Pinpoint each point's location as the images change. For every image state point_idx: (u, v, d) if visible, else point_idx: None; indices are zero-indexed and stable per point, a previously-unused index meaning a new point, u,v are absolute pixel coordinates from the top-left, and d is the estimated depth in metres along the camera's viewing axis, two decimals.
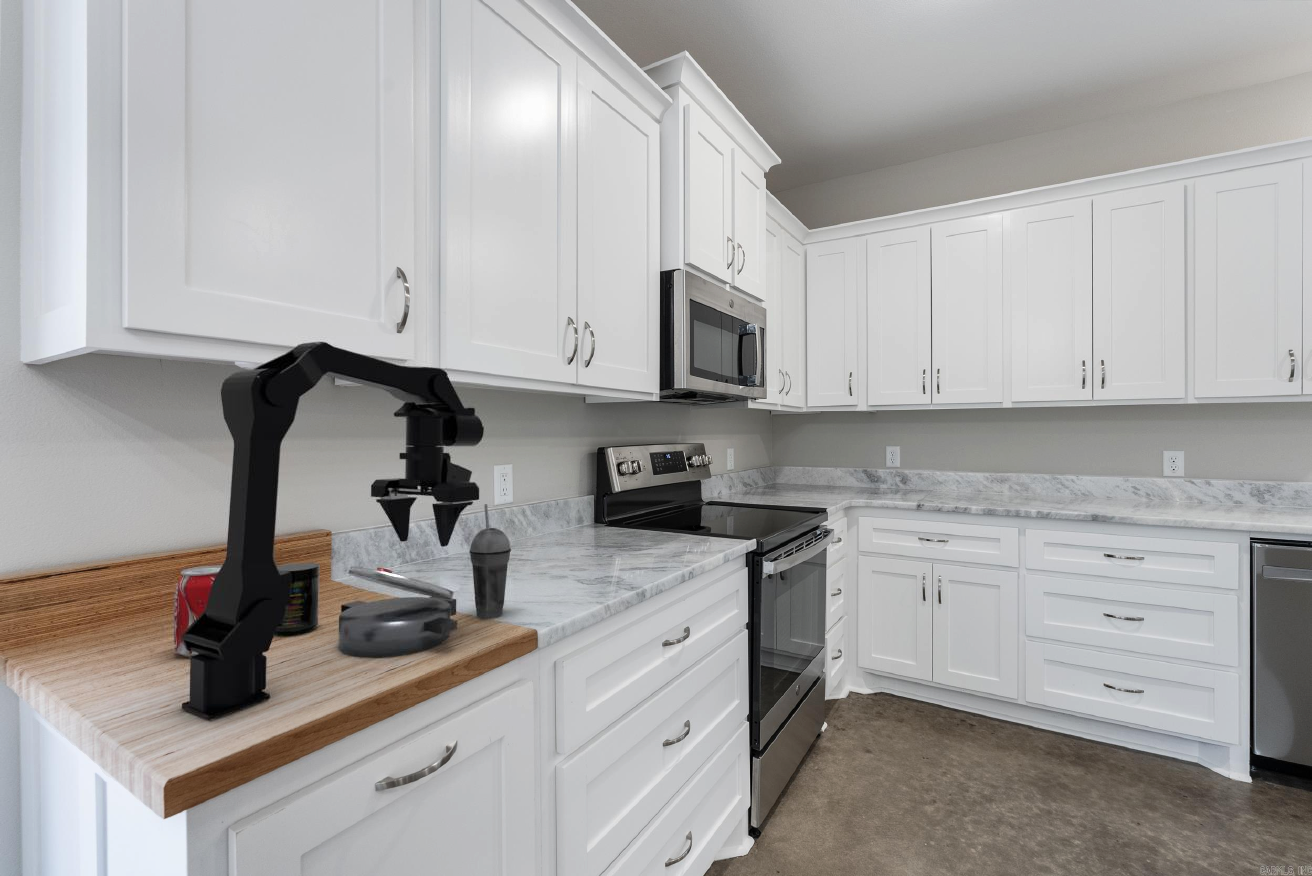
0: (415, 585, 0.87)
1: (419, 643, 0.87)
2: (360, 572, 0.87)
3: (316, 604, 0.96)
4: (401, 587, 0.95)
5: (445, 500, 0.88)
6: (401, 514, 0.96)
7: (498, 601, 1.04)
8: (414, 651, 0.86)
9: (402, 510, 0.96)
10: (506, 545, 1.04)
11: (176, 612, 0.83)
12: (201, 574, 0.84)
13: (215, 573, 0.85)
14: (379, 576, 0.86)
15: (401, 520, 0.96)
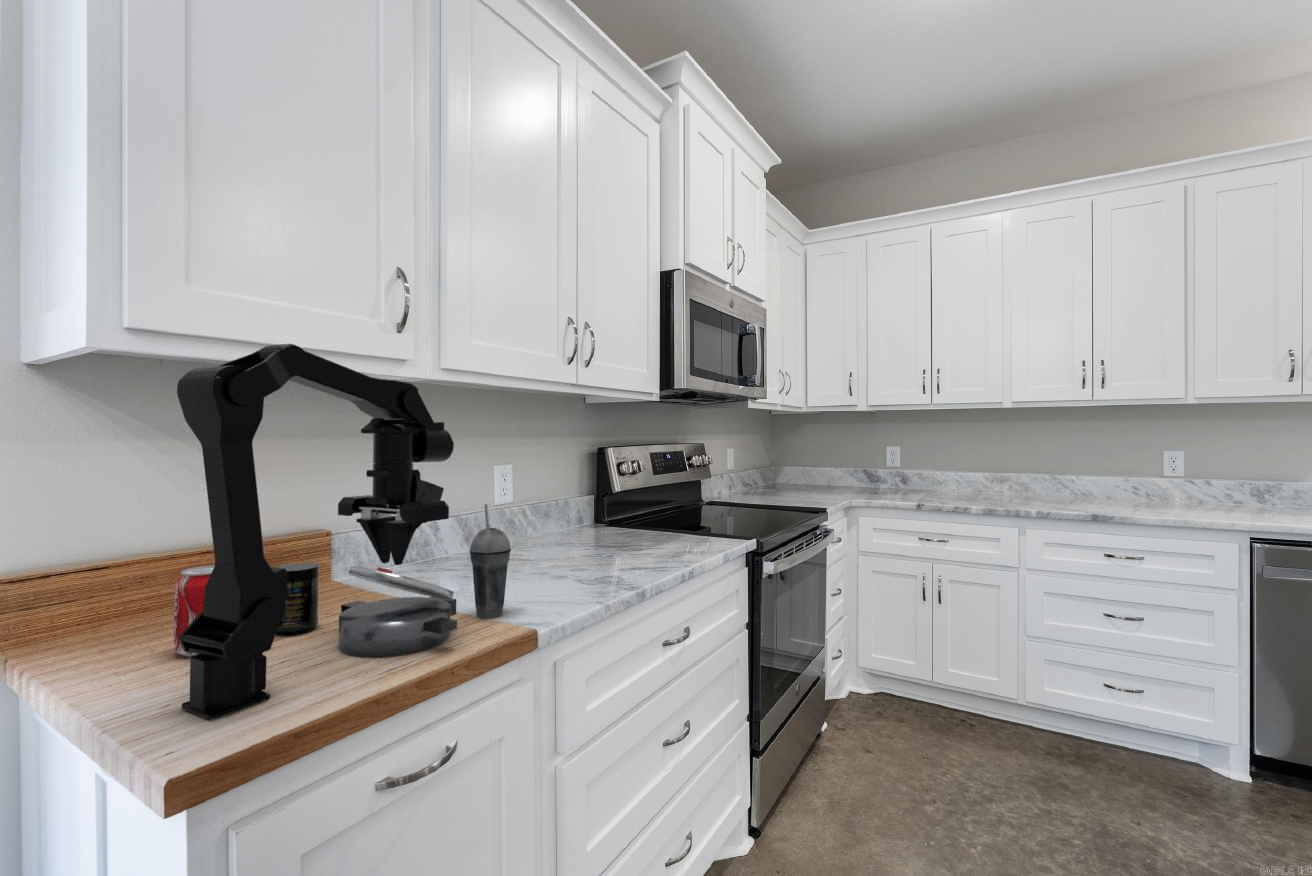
0: (415, 585, 0.87)
1: (419, 643, 0.87)
2: (360, 572, 0.87)
3: (316, 604, 0.96)
4: (401, 587, 0.95)
5: (412, 520, 0.85)
6: (383, 534, 0.92)
7: (498, 601, 1.04)
8: (414, 651, 0.86)
9: (384, 530, 0.92)
10: (506, 545, 1.04)
11: (176, 612, 0.83)
12: (201, 574, 0.84)
13: None
14: (379, 576, 0.86)
15: (382, 541, 0.92)
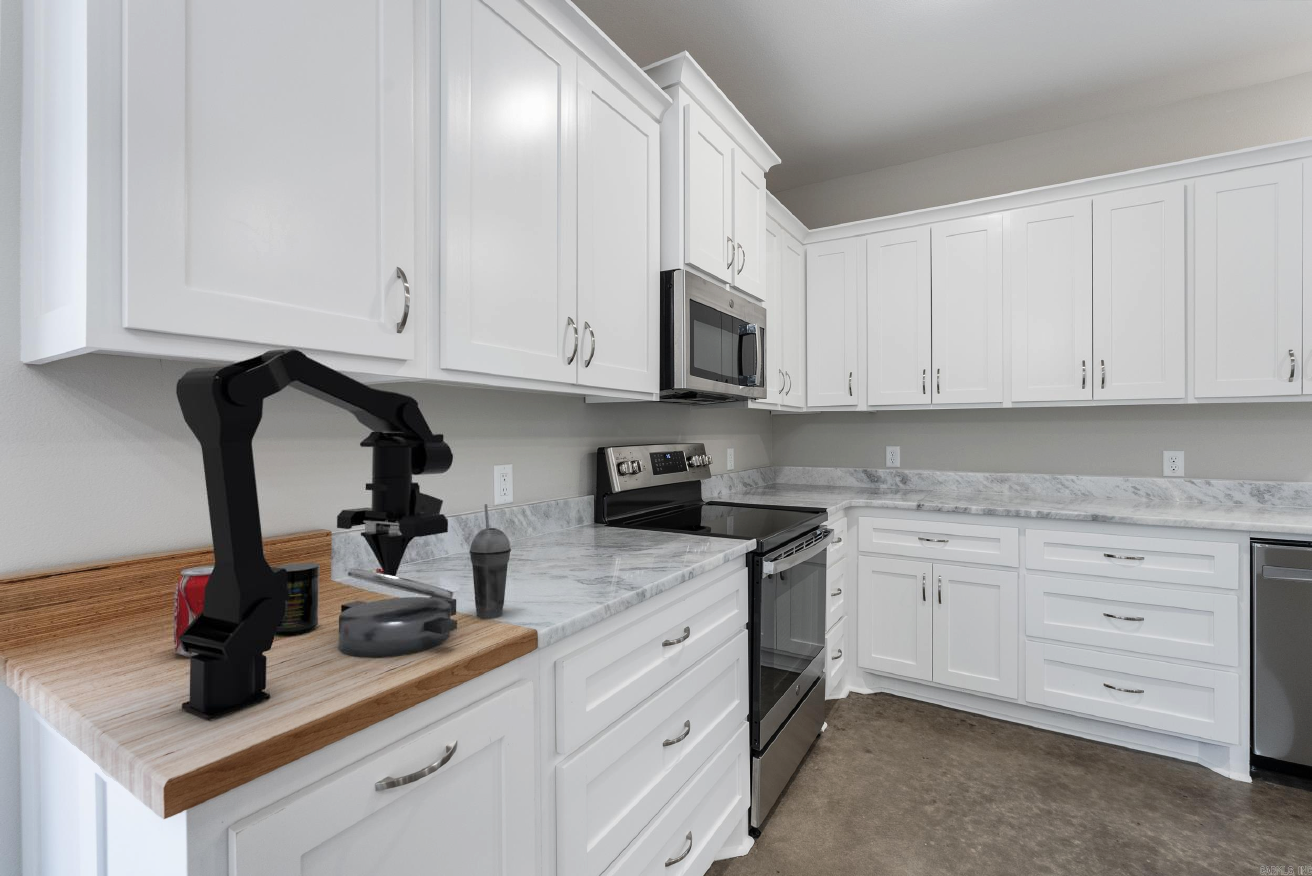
0: (414, 587, 0.87)
1: (419, 643, 0.87)
2: (359, 574, 0.86)
3: (316, 604, 0.96)
4: (401, 588, 0.95)
5: (411, 534, 0.85)
6: None
7: (498, 601, 1.04)
8: (414, 651, 0.86)
9: None
10: (506, 545, 1.04)
11: (176, 612, 0.83)
12: (201, 574, 0.84)
13: None
14: (378, 578, 0.85)
15: None
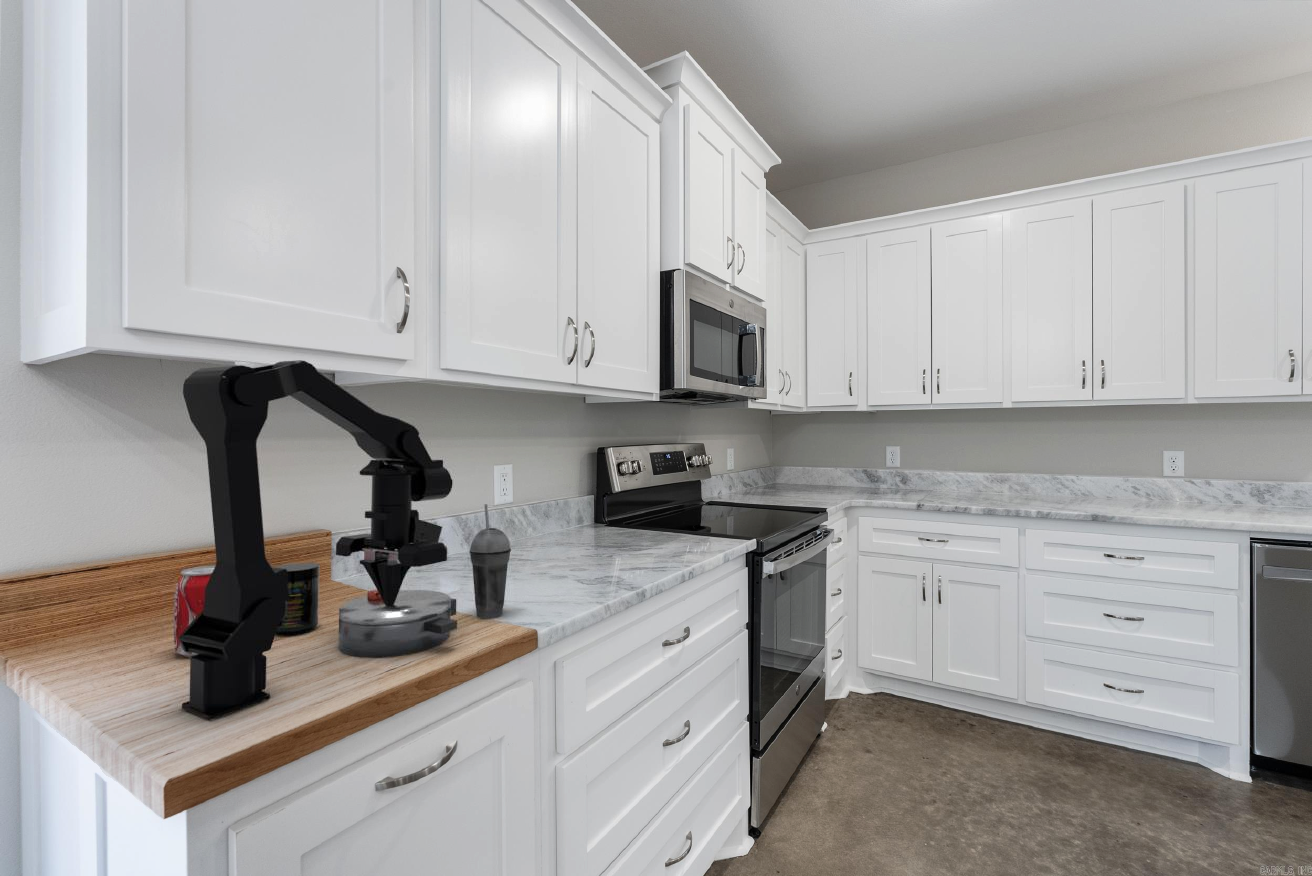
0: (408, 621, 0.86)
1: (419, 643, 0.87)
2: (349, 621, 0.85)
3: (316, 604, 0.96)
4: None
5: (410, 564, 0.85)
6: None
7: (498, 601, 1.04)
8: (414, 651, 0.86)
9: None
10: (506, 545, 1.04)
11: (176, 612, 0.83)
12: (201, 574, 0.84)
13: None
14: (369, 623, 0.84)
15: None
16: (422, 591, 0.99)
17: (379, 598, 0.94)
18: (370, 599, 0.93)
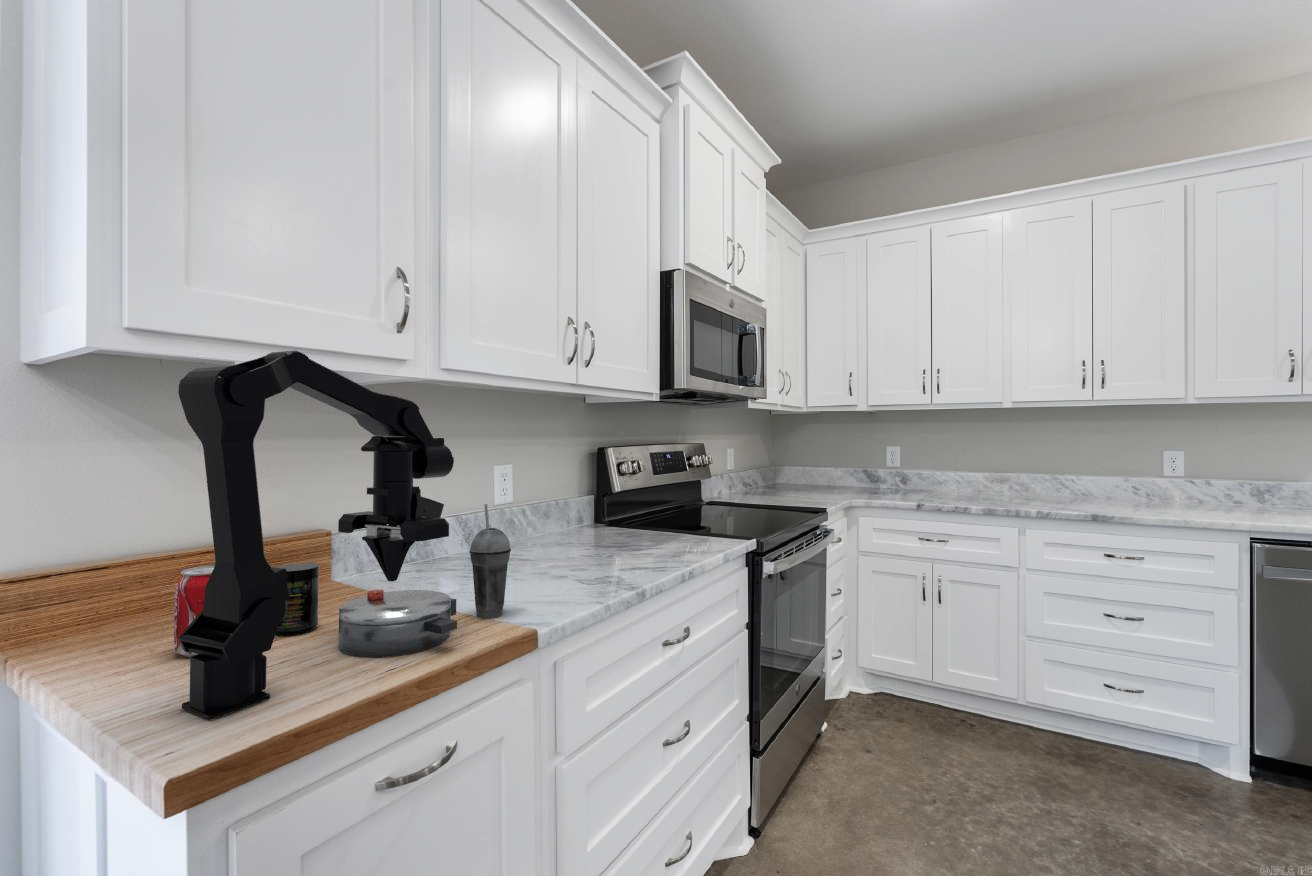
0: (408, 621, 0.86)
1: (419, 643, 0.87)
2: (349, 621, 0.85)
3: (316, 604, 0.96)
4: None
5: (412, 539, 0.85)
6: None
7: (498, 601, 1.04)
8: (414, 651, 0.86)
9: None
10: (506, 545, 1.04)
11: (176, 612, 0.83)
12: (201, 574, 0.84)
13: None
14: (369, 623, 0.84)
15: None
16: (422, 591, 0.99)
17: (379, 598, 0.94)
18: (370, 599, 0.93)
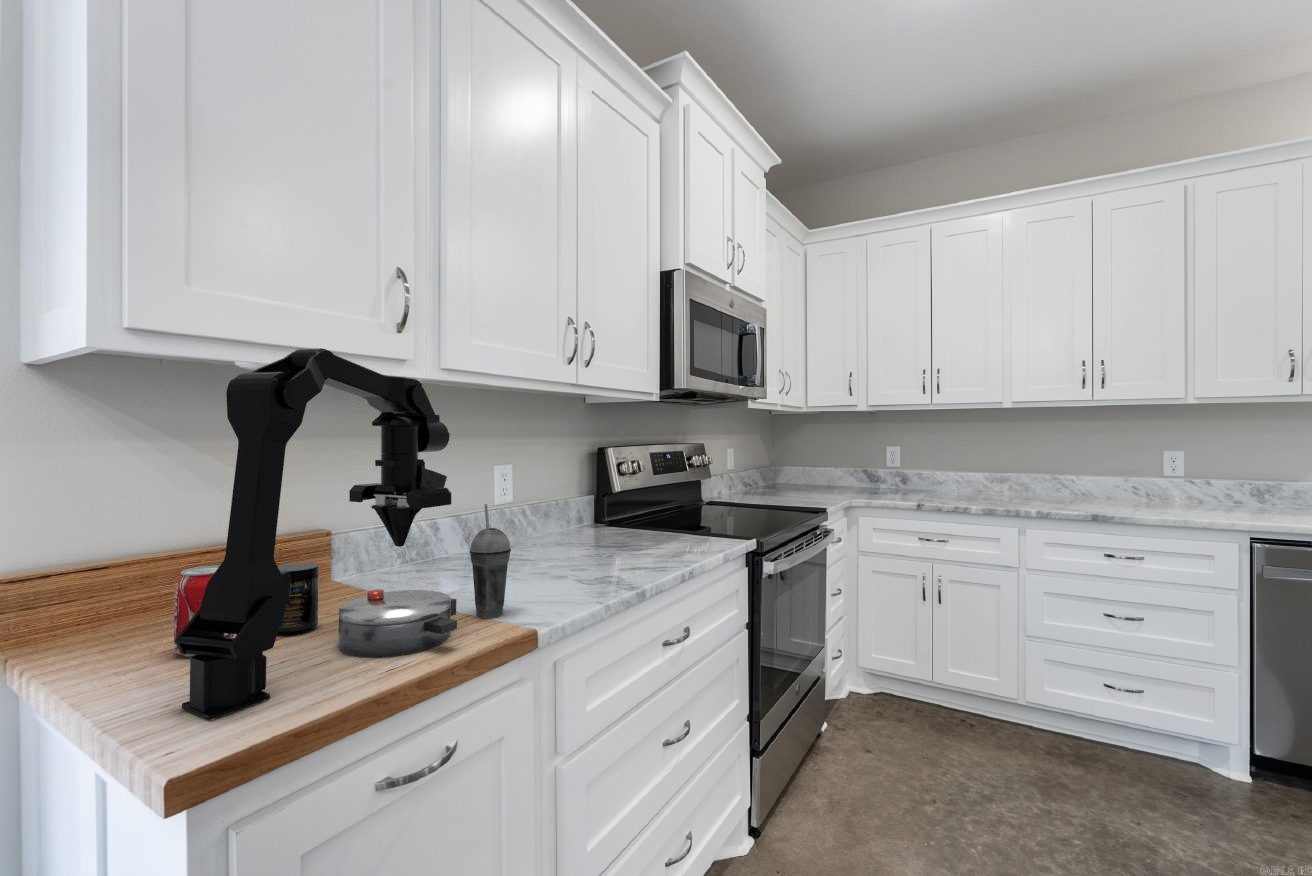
0: (408, 621, 0.86)
1: (419, 643, 0.87)
2: (349, 621, 0.85)
3: (316, 604, 0.96)
4: None
5: (417, 506, 0.92)
6: None
7: (498, 601, 1.04)
8: (414, 651, 0.86)
9: None
10: (506, 545, 1.04)
11: (176, 612, 0.83)
12: (201, 574, 0.84)
13: None
14: (369, 623, 0.84)
15: None
16: (422, 591, 0.99)
17: (379, 598, 0.94)
18: (370, 599, 0.93)
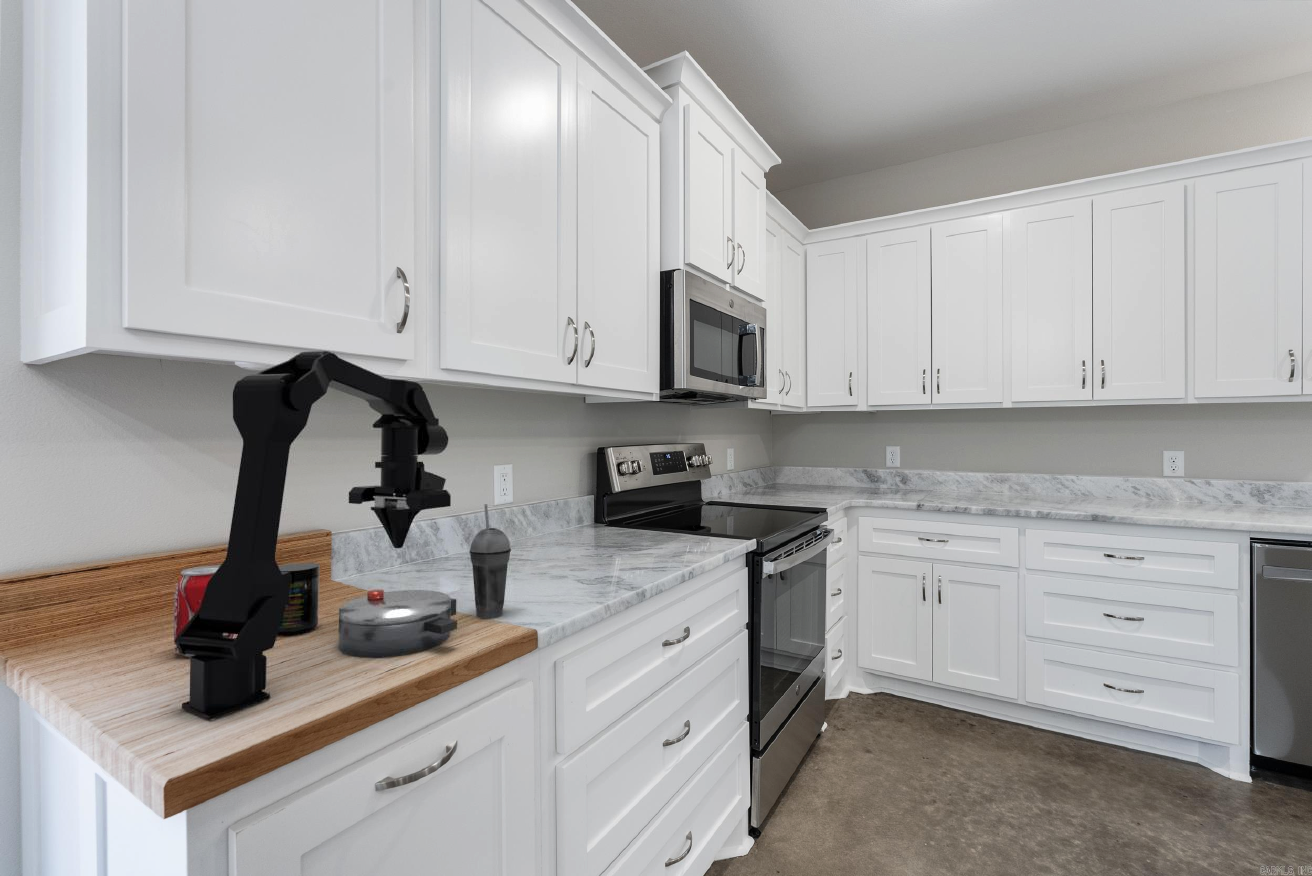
0: (408, 621, 0.86)
1: (419, 643, 0.87)
2: (349, 621, 0.85)
3: (316, 604, 0.96)
4: None
5: (417, 507, 0.93)
6: None
7: (498, 601, 1.04)
8: (414, 651, 0.86)
9: None
10: (506, 545, 1.04)
11: (176, 612, 0.83)
12: (201, 574, 0.84)
13: None
14: (369, 623, 0.84)
15: None
16: (422, 591, 0.99)
17: (379, 598, 0.94)
18: (370, 599, 0.93)
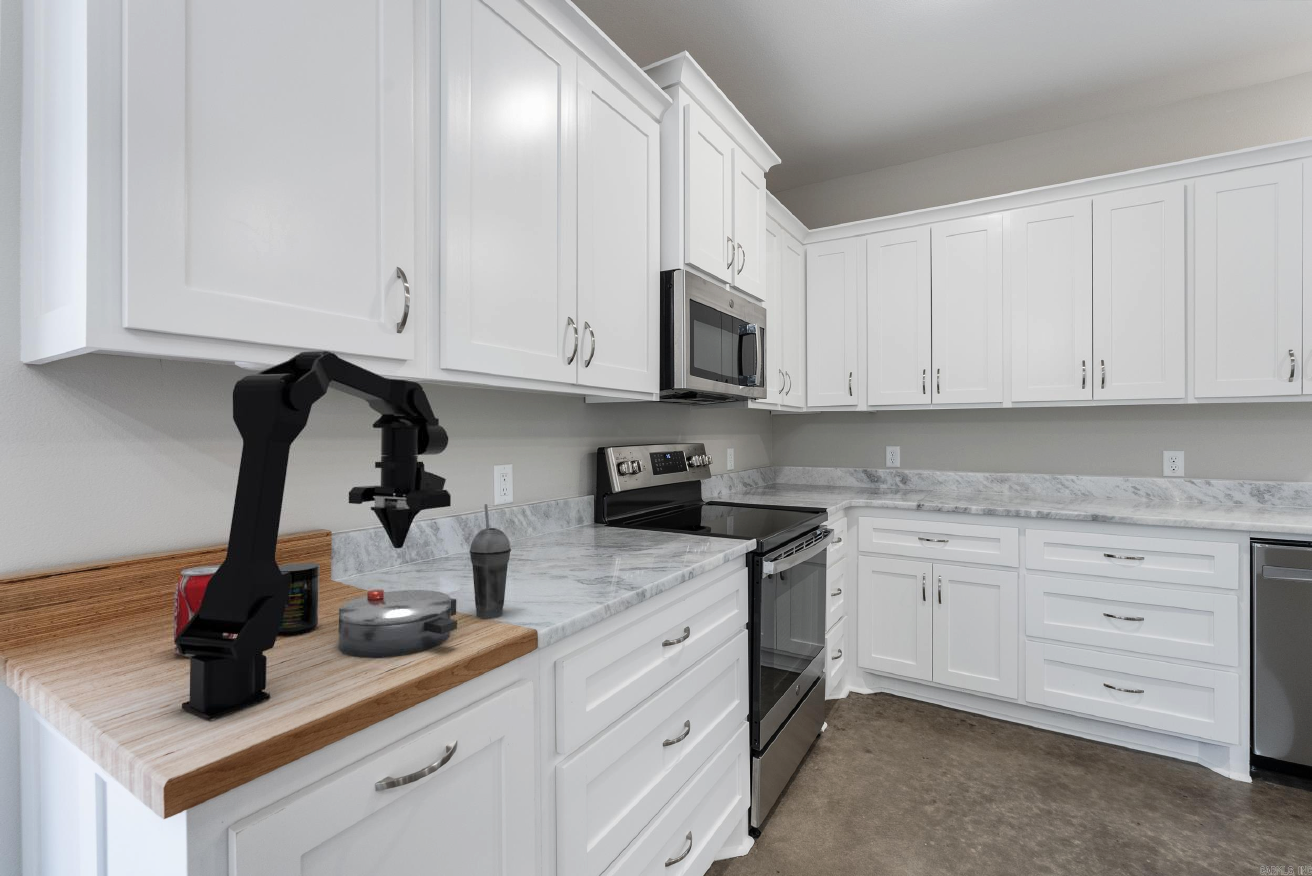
0: (408, 621, 0.86)
1: (419, 643, 0.87)
2: (349, 621, 0.85)
3: (316, 604, 0.96)
4: None
5: (417, 507, 0.93)
6: None
7: (498, 601, 1.04)
8: (414, 651, 0.86)
9: None
10: (506, 545, 1.04)
11: (176, 612, 0.83)
12: (201, 574, 0.84)
13: None
14: (369, 623, 0.84)
15: None
16: (422, 591, 0.99)
17: (379, 598, 0.94)
18: (370, 599, 0.93)
